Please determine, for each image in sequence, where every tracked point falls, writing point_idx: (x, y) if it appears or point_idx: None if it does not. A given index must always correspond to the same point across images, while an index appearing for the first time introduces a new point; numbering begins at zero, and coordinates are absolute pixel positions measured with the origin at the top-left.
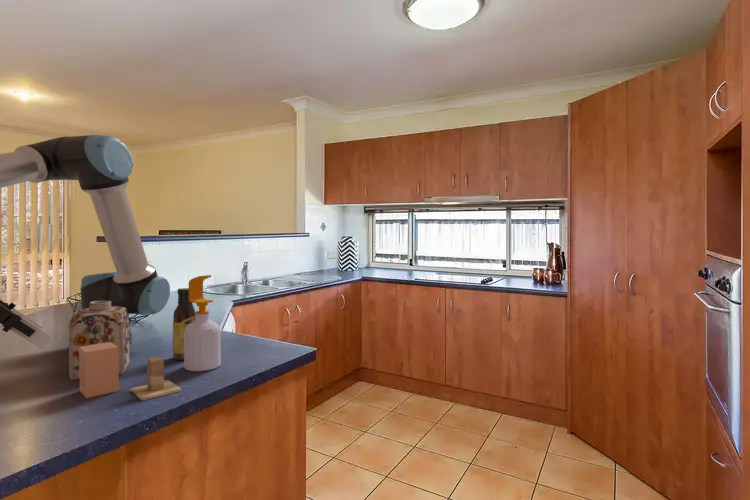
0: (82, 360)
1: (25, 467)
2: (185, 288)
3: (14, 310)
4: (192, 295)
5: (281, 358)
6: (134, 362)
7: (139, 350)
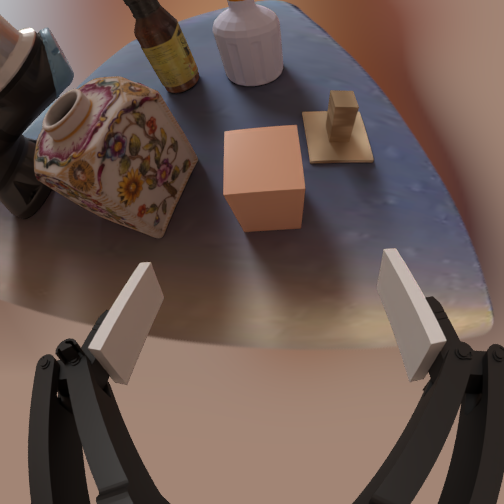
0: (270, 203)
1: (491, 316)
2: None
3: (104, 350)
4: None
5: (290, 18)
6: None
7: None
